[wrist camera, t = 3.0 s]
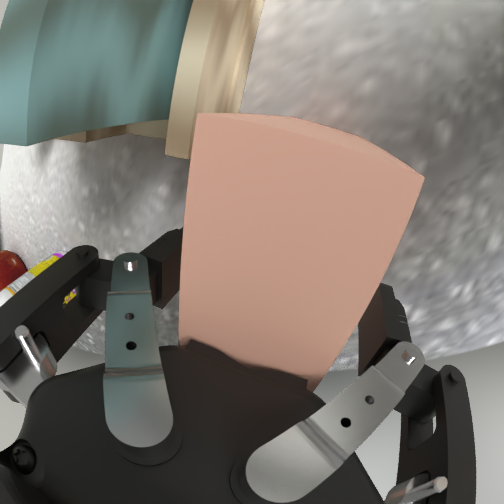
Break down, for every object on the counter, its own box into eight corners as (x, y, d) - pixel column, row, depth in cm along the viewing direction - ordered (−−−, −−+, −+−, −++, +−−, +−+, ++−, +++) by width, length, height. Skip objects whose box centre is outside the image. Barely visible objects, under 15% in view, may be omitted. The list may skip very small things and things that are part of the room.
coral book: (292, 117, 14) (197, 112, 4) (362, 137, 13) (424, 177, 4) (250, 290, 20) (180, 421, 10) (304, 308, 19) (264, 452, 10)
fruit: (41, 280, 30) (3, 310, 24) (36, 302, 35) (5, 328, 28) (10, 231, 29) (-28, 255, 22) (7, 259, 33) (-24, 282, 27)
